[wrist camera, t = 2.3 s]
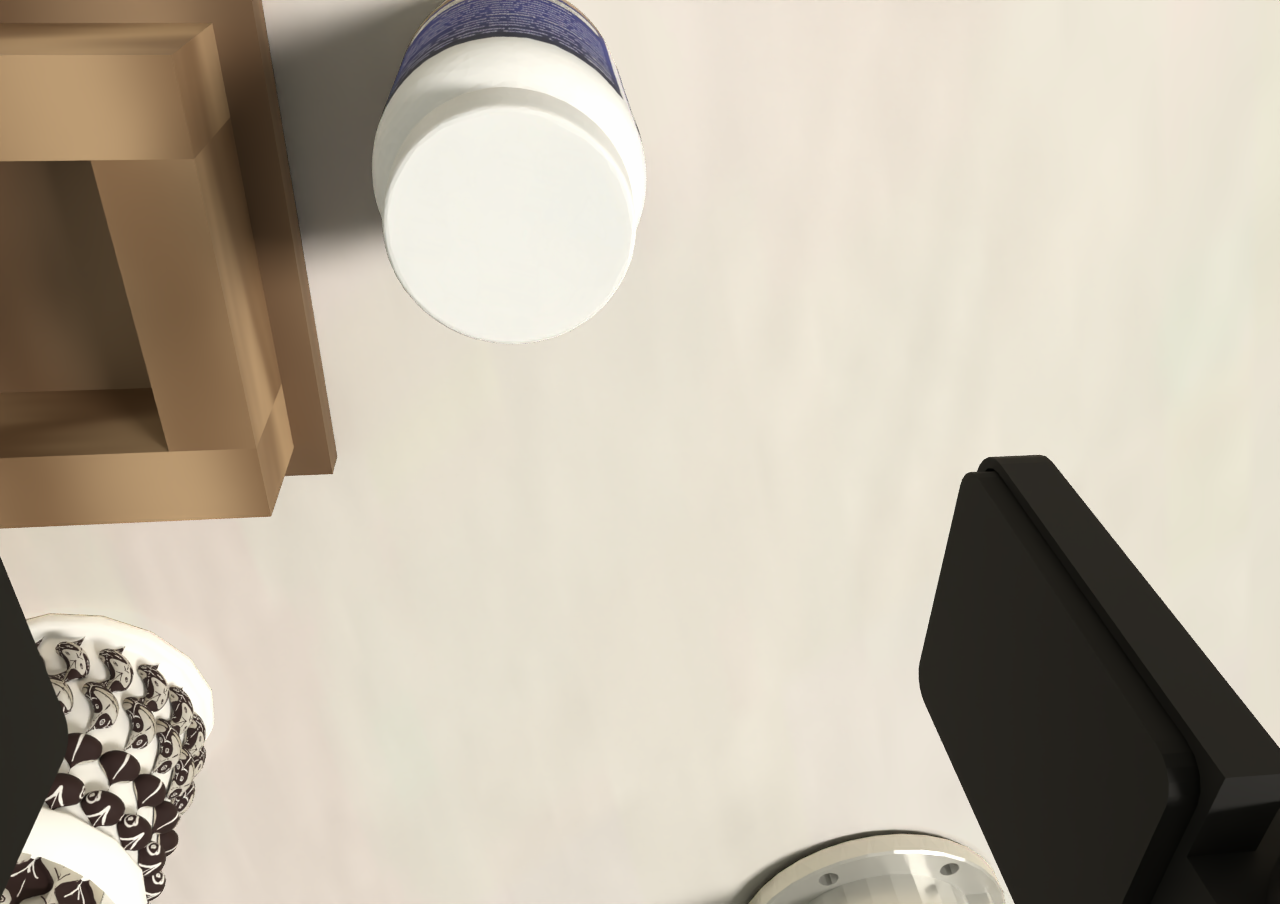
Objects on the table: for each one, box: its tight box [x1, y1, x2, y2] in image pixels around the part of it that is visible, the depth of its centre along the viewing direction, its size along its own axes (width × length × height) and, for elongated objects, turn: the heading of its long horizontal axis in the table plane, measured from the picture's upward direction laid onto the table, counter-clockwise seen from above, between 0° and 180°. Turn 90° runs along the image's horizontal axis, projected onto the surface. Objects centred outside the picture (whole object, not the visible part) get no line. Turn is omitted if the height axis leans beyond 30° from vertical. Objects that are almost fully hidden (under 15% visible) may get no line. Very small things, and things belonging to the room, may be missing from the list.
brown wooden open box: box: [0, 0, 337, 528], centre depth 26 cm, size 14×14×4 cm
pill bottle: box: [372, 0, 646, 344], centre depth 23 cm, size 6×6×10 cm
